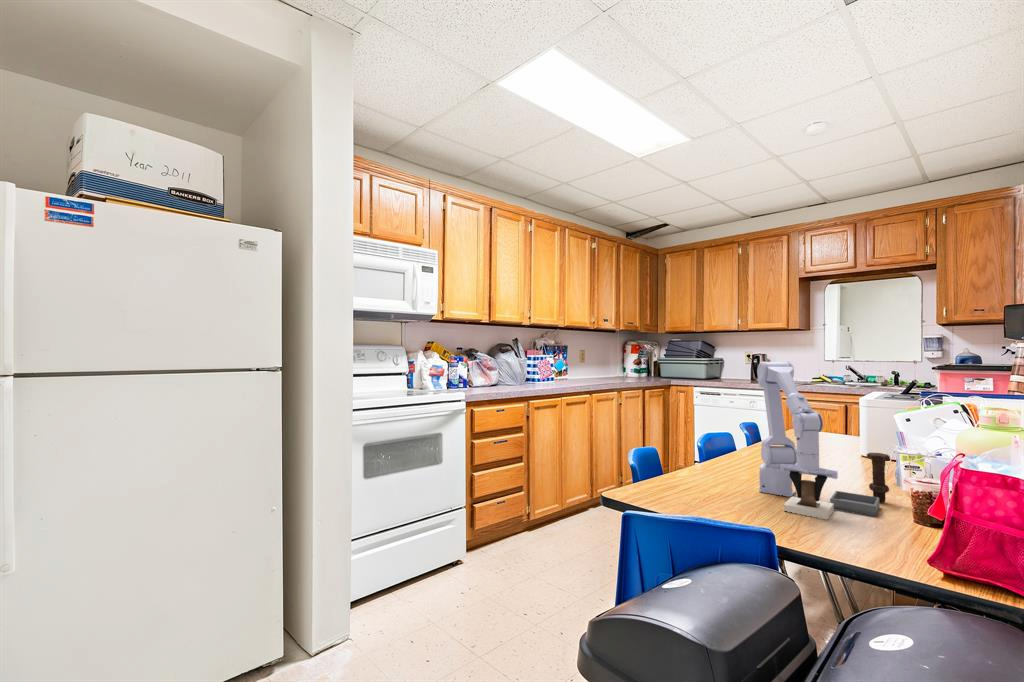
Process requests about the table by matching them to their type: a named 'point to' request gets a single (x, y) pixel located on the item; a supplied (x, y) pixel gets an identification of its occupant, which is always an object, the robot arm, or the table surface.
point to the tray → (855, 503)
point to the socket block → (809, 508)
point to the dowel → (808, 493)
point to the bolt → (878, 475)
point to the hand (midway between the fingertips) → (808, 498)
